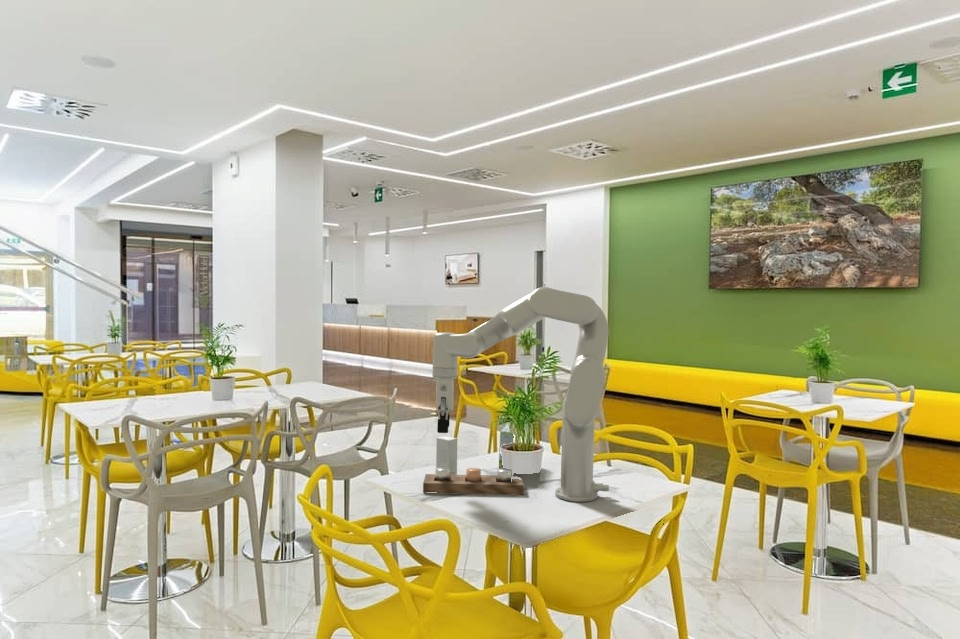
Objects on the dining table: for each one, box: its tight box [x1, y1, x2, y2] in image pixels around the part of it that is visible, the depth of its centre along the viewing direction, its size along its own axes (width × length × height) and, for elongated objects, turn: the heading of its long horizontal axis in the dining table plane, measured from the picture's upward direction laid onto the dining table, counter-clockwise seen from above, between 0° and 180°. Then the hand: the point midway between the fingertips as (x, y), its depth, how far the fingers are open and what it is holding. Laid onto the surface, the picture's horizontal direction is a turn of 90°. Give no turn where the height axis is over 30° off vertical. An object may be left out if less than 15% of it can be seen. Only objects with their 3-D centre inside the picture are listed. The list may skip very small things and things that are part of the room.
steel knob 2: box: [496, 468, 512, 482], centre depth 199 cm, size 4×4×3 cm
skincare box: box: [435, 436, 458, 475], centre depth 215 cm, size 6×4×12 cm
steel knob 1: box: [434, 467, 450, 481], centre depth 198 cm, size 4×4×3 cm
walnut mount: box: [422, 473, 524, 496], centre depth 199 cm, size 30×10×3 cm, turn 90°
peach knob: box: [465, 467, 482, 482], centre depth 199 cm, size 4×4×3 cm
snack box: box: [498, 423, 514, 469], centre depth 224 cm, size 21×6×15 cm, turn 168°
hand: (443, 429), depth 198 cm, fingers open, 8 cm apart
